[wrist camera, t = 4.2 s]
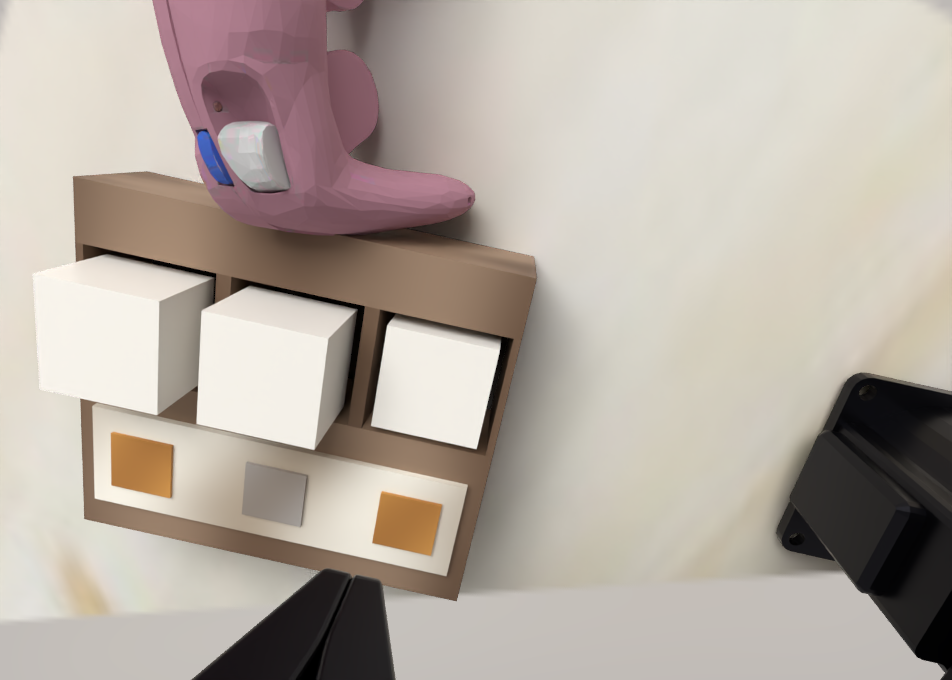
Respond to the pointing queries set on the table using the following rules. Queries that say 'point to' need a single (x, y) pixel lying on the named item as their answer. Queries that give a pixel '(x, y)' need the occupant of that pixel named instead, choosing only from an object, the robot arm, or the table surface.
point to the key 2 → (435, 380)
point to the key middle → (274, 365)
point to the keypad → (350, 436)
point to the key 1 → (120, 331)
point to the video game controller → (289, 120)
